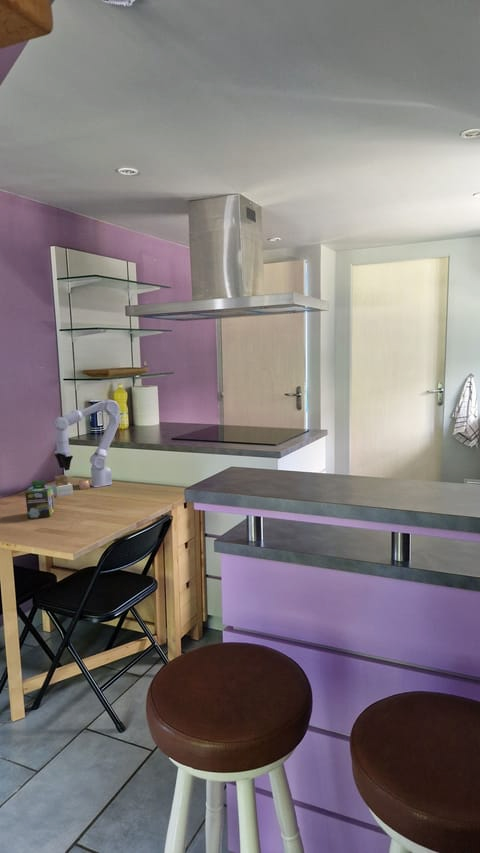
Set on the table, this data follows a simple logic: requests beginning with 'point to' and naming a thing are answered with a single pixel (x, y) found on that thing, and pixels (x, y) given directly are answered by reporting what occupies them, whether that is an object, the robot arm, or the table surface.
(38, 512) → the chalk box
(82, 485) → the peach capsule cylinder
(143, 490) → the table surface
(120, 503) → the table surface
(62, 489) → the small box
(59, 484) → the walnut block
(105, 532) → the table surface
